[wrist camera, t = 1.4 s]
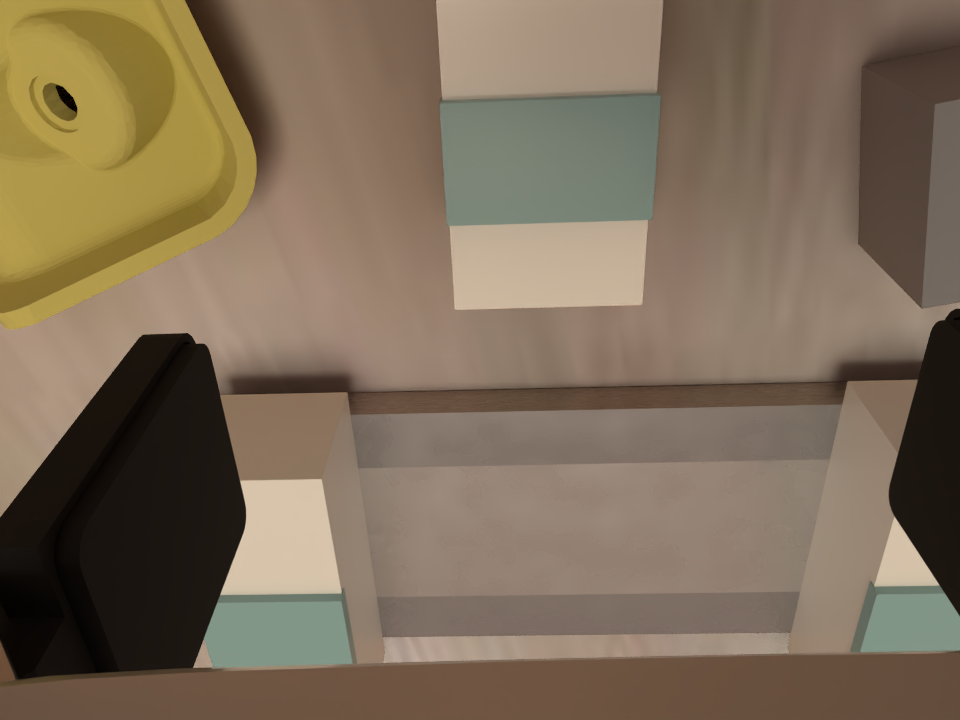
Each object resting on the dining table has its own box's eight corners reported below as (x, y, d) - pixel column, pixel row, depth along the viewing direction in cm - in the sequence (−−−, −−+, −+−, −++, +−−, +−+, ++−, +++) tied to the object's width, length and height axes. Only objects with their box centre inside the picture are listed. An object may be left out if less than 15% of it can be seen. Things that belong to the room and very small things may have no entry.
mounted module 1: (348, 392, 30) (321, 486, 25) (385, 652, 37) (369, 762, 32) (210, 395, 30) (158, 489, 25) (274, 653, 37) (242, 763, 32)
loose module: (623, -50, 24) (670, -25, 17) (611, 212, 28) (645, 309, 21) (448, -43, 24) (432, -15, 18) (462, 217, 28) (452, 314, 22)
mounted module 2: (992, 378, 29) (1085, 472, 24) (903, 646, 36) (962, 759, 31) (846, 380, 29) (911, 475, 24) (786, 648, 36) (828, 760, 32)
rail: (989, 379, 31) (1011, 400, 29) (915, 604, 37) (930, 631, 35) (203, 396, 32) (191, 418, 30) (258, 612, 38) (249, 638, 37)
